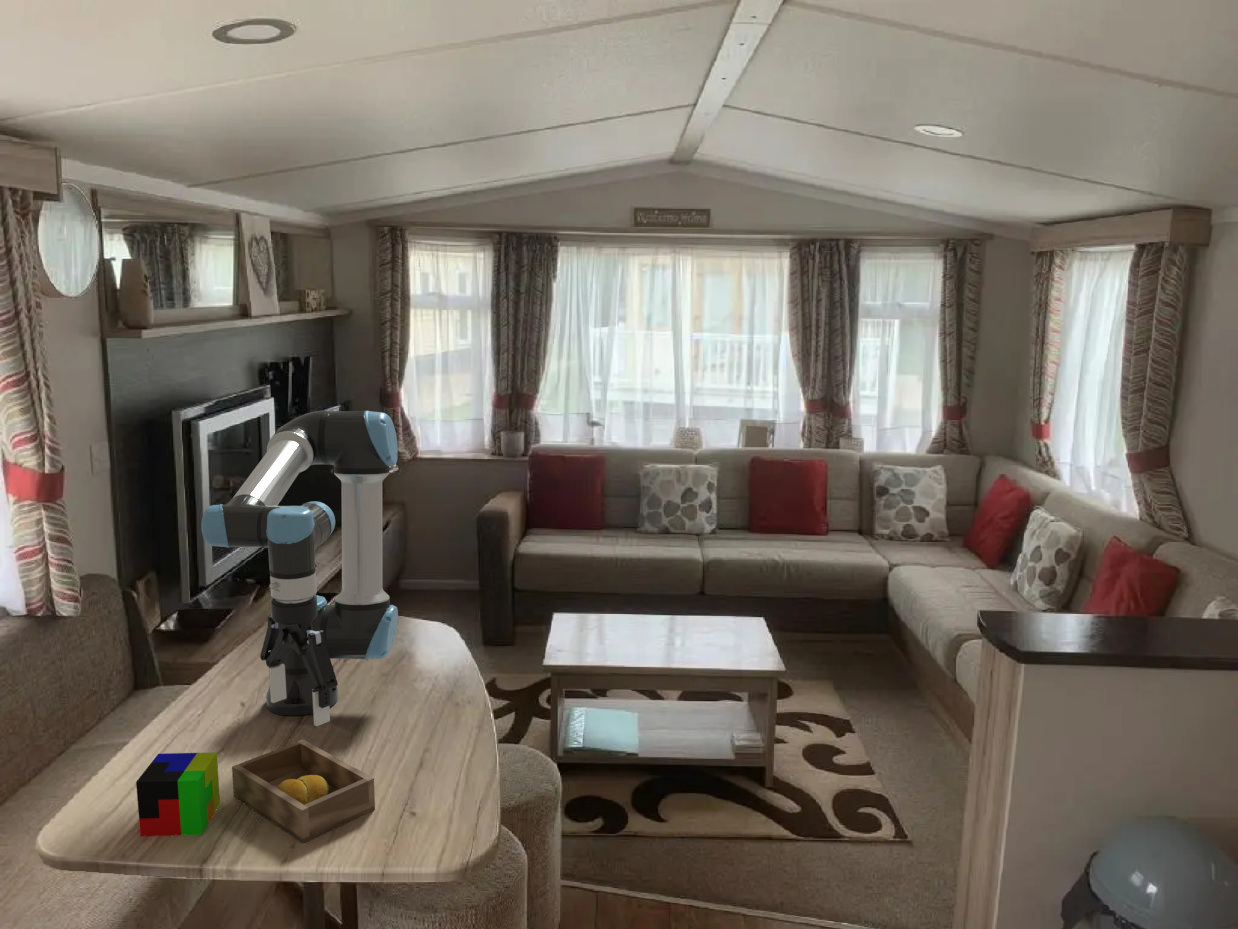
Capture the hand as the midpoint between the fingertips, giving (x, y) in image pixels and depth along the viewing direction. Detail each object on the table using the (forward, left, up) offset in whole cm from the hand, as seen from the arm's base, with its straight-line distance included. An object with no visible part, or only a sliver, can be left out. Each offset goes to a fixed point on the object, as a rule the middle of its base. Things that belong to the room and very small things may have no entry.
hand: (299, 711), depth 175 cm
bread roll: (0, 0, -17) cm, 17 cm away
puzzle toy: (-11, -17, -18) cm, 27 cm away
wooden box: (0, 0, -18) cm, 18 cm away
